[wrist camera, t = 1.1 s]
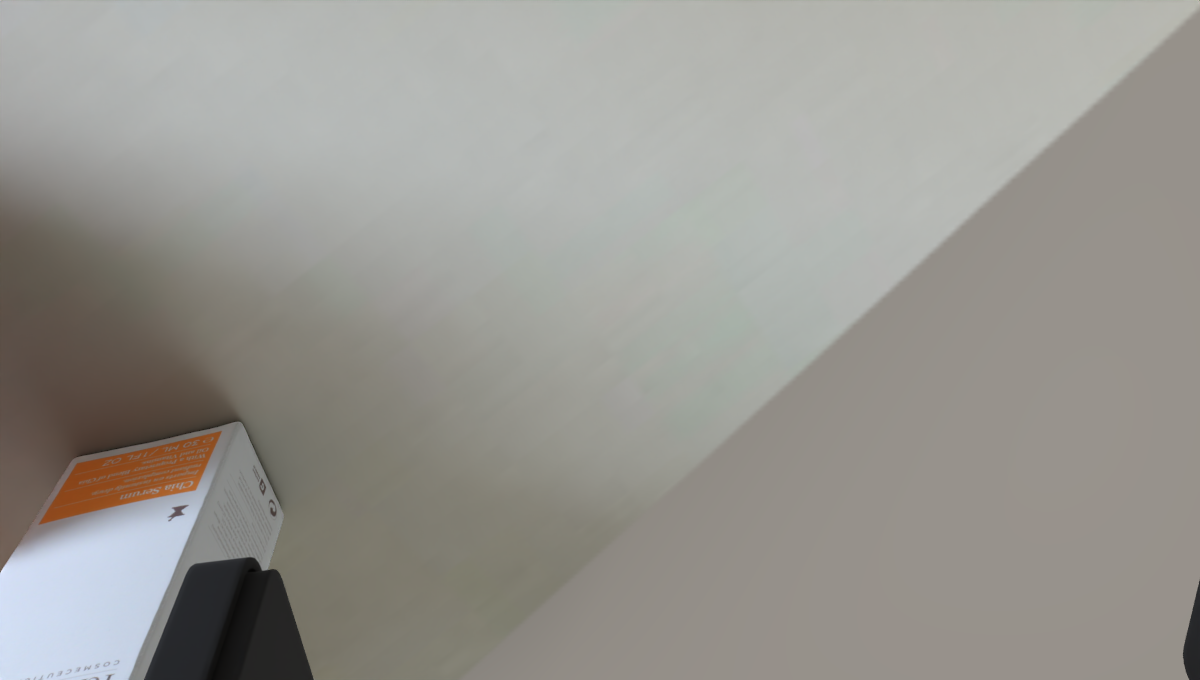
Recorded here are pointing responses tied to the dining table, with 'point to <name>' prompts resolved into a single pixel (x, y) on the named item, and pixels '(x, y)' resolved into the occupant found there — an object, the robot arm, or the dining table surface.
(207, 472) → the cosmetic box
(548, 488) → the dining table surface
